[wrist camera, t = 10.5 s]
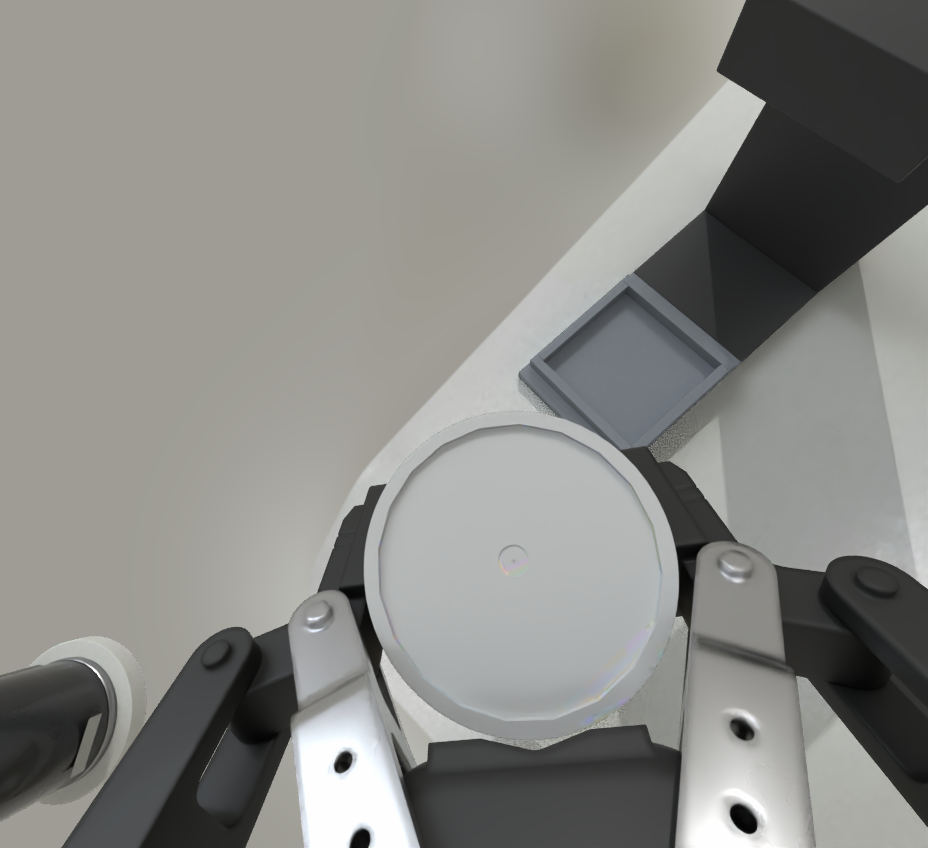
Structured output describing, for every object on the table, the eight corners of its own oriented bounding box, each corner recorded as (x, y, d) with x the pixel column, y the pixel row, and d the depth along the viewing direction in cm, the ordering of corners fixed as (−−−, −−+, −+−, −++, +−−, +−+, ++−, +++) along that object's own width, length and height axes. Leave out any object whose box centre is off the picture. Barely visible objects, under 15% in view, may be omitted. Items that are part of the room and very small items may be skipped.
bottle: (450, 606, 22) (316, 739, 8) (460, 473, 24) (365, 385, 10) (587, 621, 21) (719, 805, 7) (588, 481, 23) (696, 394, 9)
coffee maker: (616, 475, 36) (825, 355, 11) (518, 376, 39) (512, 113, 14) (858, 254, 37) (1500, -269, 13) (745, 177, 41) (1088, -362, 16)
